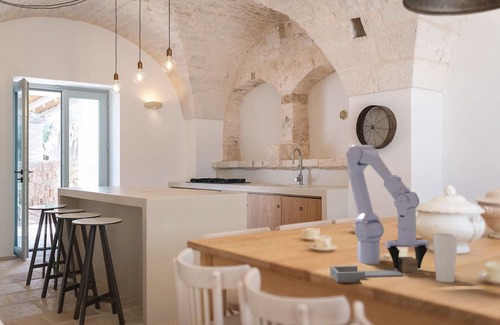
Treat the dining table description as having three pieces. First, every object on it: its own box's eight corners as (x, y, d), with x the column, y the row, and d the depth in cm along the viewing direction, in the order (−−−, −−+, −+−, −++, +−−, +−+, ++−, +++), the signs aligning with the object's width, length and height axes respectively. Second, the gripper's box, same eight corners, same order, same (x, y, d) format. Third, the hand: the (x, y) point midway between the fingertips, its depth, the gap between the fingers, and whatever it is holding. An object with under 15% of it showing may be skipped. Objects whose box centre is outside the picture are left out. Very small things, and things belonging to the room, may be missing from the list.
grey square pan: (330, 275, 158) (330, 266, 158) (394, 273, 160) (394, 264, 160) (337, 282, 149) (337, 273, 149) (405, 280, 151) (404, 270, 151)
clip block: (397, 268, 163) (397, 256, 163) (411, 268, 163) (411, 256, 163) (402, 272, 158) (402, 260, 158) (417, 271, 158) (417, 259, 158)
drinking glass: (450, 280, 151) (450, 233, 151) (461, 285, 144) (460, 236, 144) (429, 280, 151) (429, 233, 151) (439, 286, 144) (438, 237, 144)
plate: (393, 270, 164) (393, 267, 164) (412, 270, 164) (412, 267, 164) (401, 275, 157) (401, 272, 157) (421, 275, 157) (421, 272, 157)
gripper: (390, 230, 156) (390, 271, 156) (433, 229, 157) (433, 270, 157) (382, 227, 163) (383, 266, 163) (423, 226, 164) (423, 265, 164)
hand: (407, 268), depth 160 cm, fingers open, 7 cm apart
